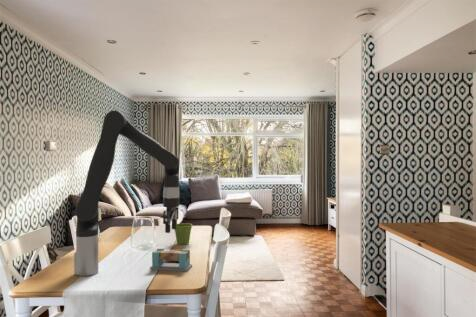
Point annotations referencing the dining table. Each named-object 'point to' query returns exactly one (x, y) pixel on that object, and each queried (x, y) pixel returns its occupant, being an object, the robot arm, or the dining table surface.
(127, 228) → the dining table surface
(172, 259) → the rail
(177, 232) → the plant pot
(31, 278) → the dining table surface
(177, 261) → the sunglasses case
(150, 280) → the dining table surface
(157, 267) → the bracket stand
